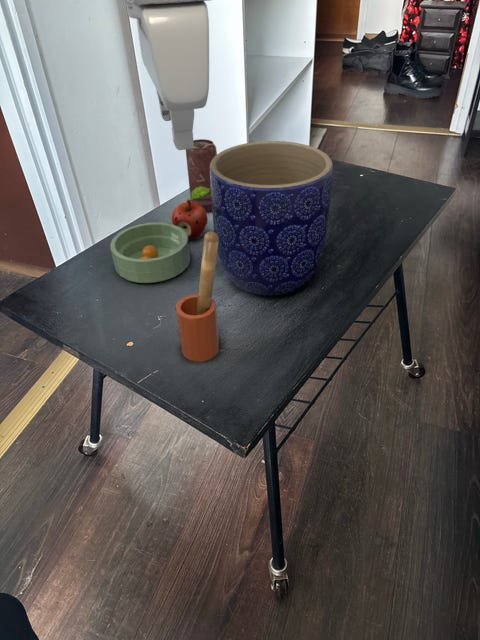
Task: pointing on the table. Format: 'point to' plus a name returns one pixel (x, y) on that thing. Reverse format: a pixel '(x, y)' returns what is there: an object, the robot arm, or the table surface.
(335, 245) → the table surface
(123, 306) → the table surface
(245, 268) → the planter
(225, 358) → the table surface
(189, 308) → the crock
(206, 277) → the stick
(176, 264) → the bowl
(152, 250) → the bead
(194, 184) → the can
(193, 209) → the apple
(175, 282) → the table surface
